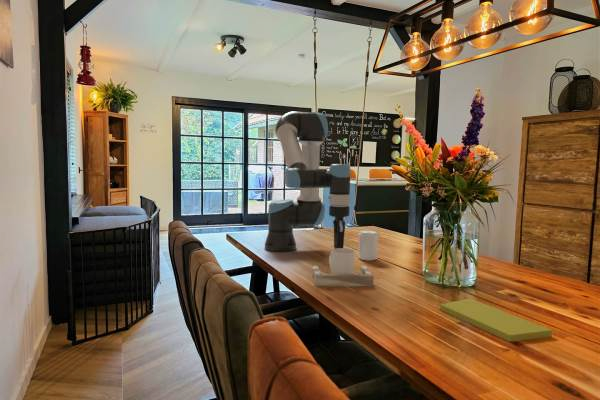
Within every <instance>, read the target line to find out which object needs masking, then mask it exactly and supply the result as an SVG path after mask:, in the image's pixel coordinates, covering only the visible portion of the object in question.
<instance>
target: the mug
mask: <svg viewBox="0 0 600 400" xmlns="http://www.w3.org/2000/svg"><path fill="white" fill-rule="evenodd" d="M355 254H356V251H355V250H354V249H351V248H346V247H345V248H344V247H343V248H336V249H334V248H332V249H331V252H330V254H329V257H328V264H329V267H330V274H355V259H356V258H355Z"/></svg>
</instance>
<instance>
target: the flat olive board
mask: <svg viewBox="0 0 600 400" xmlns="http://www.w3.org/2000/svg"><path fill="white" fill-rule="evenodd" d="M439 306H440V307H439V311H442V312H444V313H445V314H448V315H449V316H452V317H455V318H456V319H459V320H460V321H461V320H462V321H463V322H466V323H467V324H469V325H472V326H474V327H476V328H479V329H480V330H482V331H485V332H487V333H489V334H491V335H494V336H495V337H497V338H500V339H502V340H505V341H507V342H509V343H511V342H518V341H528V340H535V339H542V338H543V339H544V338H551V337H552V335H553V329H550V328H548V327H546V326H543V325H539V324H538V323H535V322H532V321H529V320H528V319H524V318H521V317H520V316H517V315H514V314H511V313H509V312H507V311H504V310H501V309H499V308H496V307H494V306H491V305H488V304H486V303H483V302H481V301H478V300H476V299H473V298H465V299H462V300H455V301H452V302H451V301H450V302H446V303H440V304H439Z"/></svg>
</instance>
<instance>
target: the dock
mask: <svg viewBox="0 0 600 400" xmlns="http://www.w3.org/2000/svg"><path fill="white" fill-rule="evenodd" d="M312 278H313V282H314V286H315V287H374V279H375V278H374V275H373V274H372V272H371V271H370V270H369V268H368V267H367V266H366V265H360V273H358V274H357V273H356V274H355V273H354V274H331V273H329V274H324V273H323V274H322V273H321V272H320V268H319V266H318V265H312Z"/></svg>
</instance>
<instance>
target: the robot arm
mask: <svg viewBox="0 0 600 400" xmlns="http://www.w3.org/2000/svg"><path fill="white" fill-rule="evenodd" d="M274 130H275V131H274V132H275V136H276V138H277V139H278V141H279V142H280V145H281V149H282V153H283V157H284V160H285V164H286V167H287V168H286V169H285V171H284V178H283V179H284V184H285V187H287V188H289V189H291V188H292V189H300V192H299V196H298V197H296V198H297V199H296V202H295V201H294V200H293V199H287V198H286V199H279V200H274V201H271V202H270V203H269V204H268V211H267V213H268V232H267V236H266V239H265V243H264V249H265V250H266V251H269V252H278V253H279V252H281V253H282V252H291V251H295V250H297V242H296V239H295V236H294V232H293V231H294V229H293V228H294V227H315V226H316V227H317V226H320V225H321V224H322V223H323V221H324V219H325V214H326V213H325V211H326V209H325V207H326V206H325V203H324V202H322V198H321V197H320V196H319V189H329V196H328V197H327V200H329V207H328V208H329V209H328V214H329V216H330V217H334V219H333V222H332V224H333V249H336V248H344V245H345V231H346V222H345V220H344V218H346V217H349V216H350V205H351V203H350V202H351V193H350V192H351V176H352V174H351V165H349V163H347V164H346V163H345V164H344V163H331V164H330V167H329V168H320V157H321V155H320V153H321V152H320V151H321V145H322V144H323V143H324V139H326V138H328V135H329V134H328V133H329V124H328V119H327V117H326V116H325V114H324V113H322V112H314V111H313V112H309V111H307V112H306V111H289V112H287V113H285V114H283V115H282V116H281V117H279V119H278V121H277V122H276V125H275V129H274ZM300 144H301V145H300Z"/></svg>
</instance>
